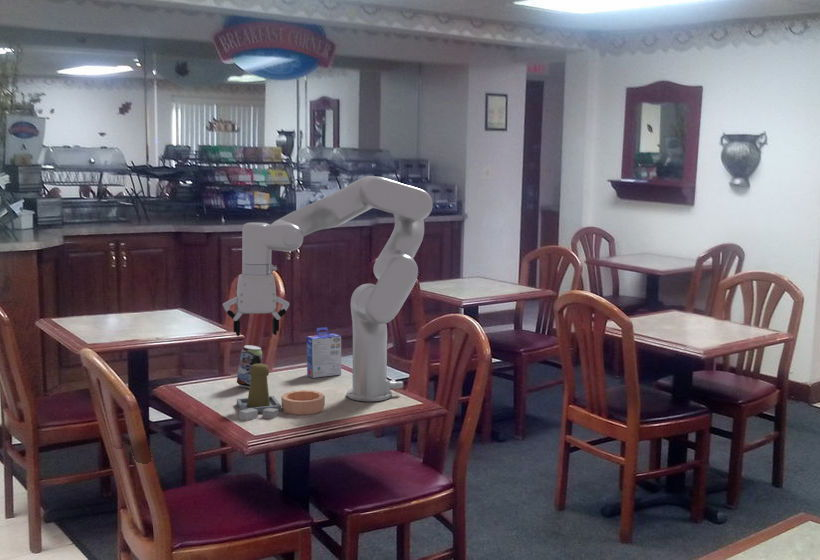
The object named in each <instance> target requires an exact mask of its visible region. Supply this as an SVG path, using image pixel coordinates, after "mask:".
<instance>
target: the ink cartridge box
mask: <svg viewBox="0 0 820 560" xmlns="http://www.w3.org/2000/svg"><path fill="white" fill-rule="evenodd" d="M320 331H322V332H320ZM305 337H306V342H305V343H306V375H307V376H308V377H310V378H312V379H314V378H315V379H316V378H322V377H323V378H324V377H330V376H341V375H342V336H341V335H339V334H337V333H329V328H328V327H327V326H325V327H316V335H308V336H305Z"/></svg>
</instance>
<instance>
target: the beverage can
mask: <svg viewBox="0 0 820 560" xmlns="http://www.w3.org/2000/svg"><path fill="white" fill-rule="evenodd" d="M262 358H263V351H262V347H260V346H258V345H252V344H251V345H250V344H246V345H244V346H243V348H242V349H241V351H240V357H239V364H238V369H237V370H238V371H237V378H236V383H237V384H238V385H239V386H240V387H242V388H247V389H250V382H251V375H250V372H249V371H250V367H251V365H253V364H262Z"/></svg>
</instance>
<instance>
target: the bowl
mask: <svg viewBox="0 0 820 560" xmlns="http://www.w3.org/2000/svg"><path fill="white" fill-rule="evenodd" d="M325 398H326V397H325V395H324V393H323V392H320V391H316V390H306V389H305V390H304V389H303V390H292V391H289V392H285V393H283V394H282V395H281V399H280V400H281V411H283V412H284V413H285V412H286V413H285V414H288V413H289V415H295V416H308V414H310V415H315V413H316V414H319V413H321V412H324V409H325V406H326V402H325V401H326V399H325Z"/></svg>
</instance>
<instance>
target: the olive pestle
mask: <svg viewBox="0 0 820 560" xmlns="http://www.w3.org/2000/svg"><path fill="white" fill-rule="evenodd" d="M249 372H250V375H251V382H250V388H248V389H249V390H248V395H247V398H248V401H247V406H249V407H263V406H270V402H269V396H270V393H269V384H268V383H269V382H268V376H269V374H270V367H269V365H267V364H265V363H261V364H253V365H251V367H250V371H249Z"/></svg>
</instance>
